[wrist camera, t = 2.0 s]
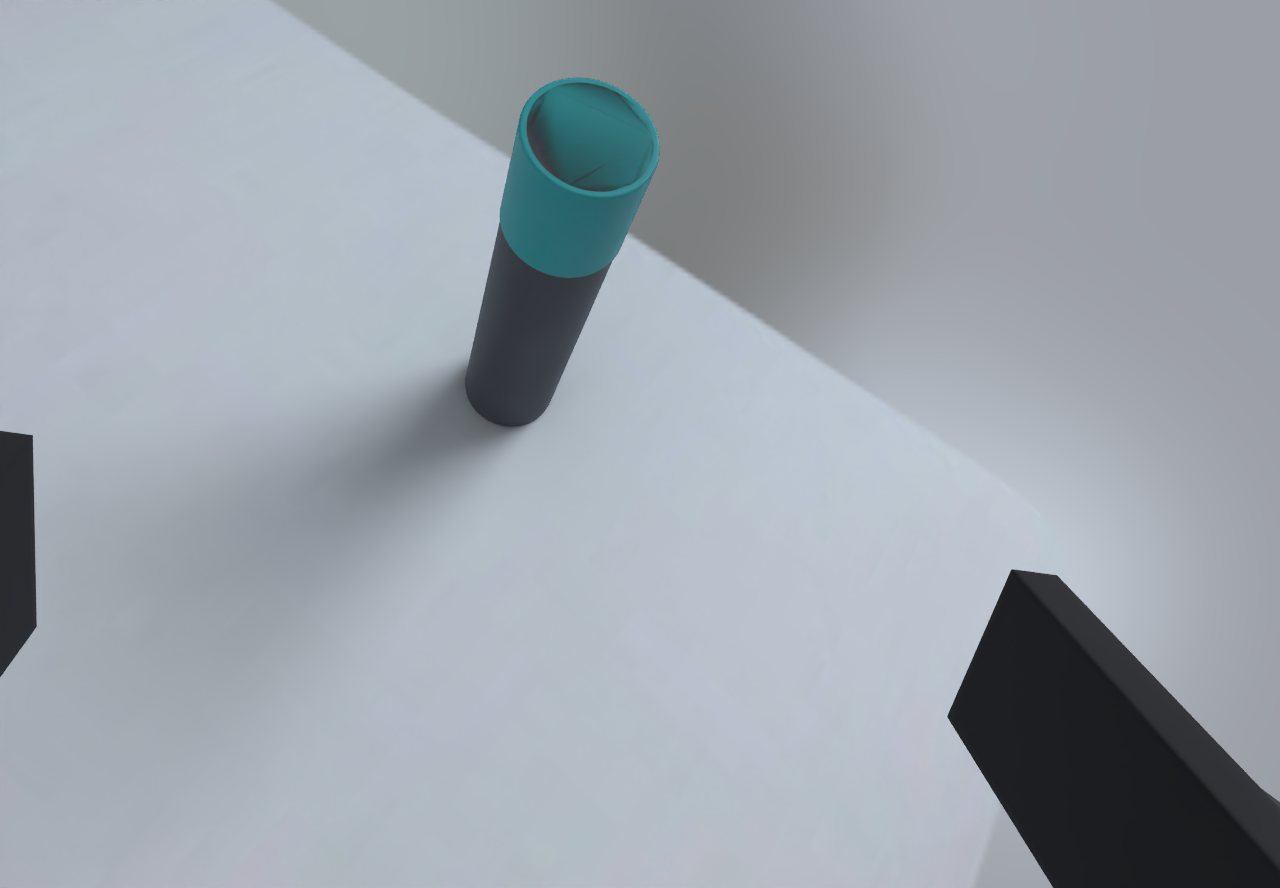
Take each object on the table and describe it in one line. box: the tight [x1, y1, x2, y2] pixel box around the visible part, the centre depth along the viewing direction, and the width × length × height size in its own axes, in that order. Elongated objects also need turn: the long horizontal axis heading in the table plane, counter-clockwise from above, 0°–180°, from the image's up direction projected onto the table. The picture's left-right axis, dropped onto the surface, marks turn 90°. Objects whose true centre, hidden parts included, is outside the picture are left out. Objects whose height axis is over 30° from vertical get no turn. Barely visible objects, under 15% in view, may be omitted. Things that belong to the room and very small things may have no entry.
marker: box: [465, 78, 660, 426], centre depth 24 cm, size 3×3×12 cm
